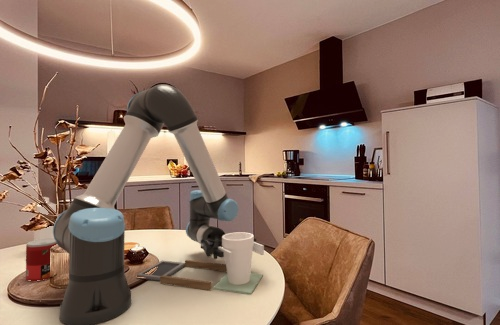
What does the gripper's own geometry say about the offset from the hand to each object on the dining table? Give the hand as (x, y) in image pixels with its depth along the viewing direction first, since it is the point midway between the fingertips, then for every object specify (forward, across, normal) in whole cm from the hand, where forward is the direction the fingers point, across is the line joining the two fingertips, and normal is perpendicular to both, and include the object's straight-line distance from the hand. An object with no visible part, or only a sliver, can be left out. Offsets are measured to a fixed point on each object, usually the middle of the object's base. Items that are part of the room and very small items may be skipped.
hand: (247, 253), depth 77 cm
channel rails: (-15, +9, -10) cm, 20 cm away
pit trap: (-25, +16, -10) cm, 31 cm away
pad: (-4, 0, -10) cm, 10 cm away
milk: (-72, +48, -10) cm, 87 cm away
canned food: (-43, +48, -10) cm, 65 cm away
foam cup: (-4, 0, -9) cm, 10 cm away
